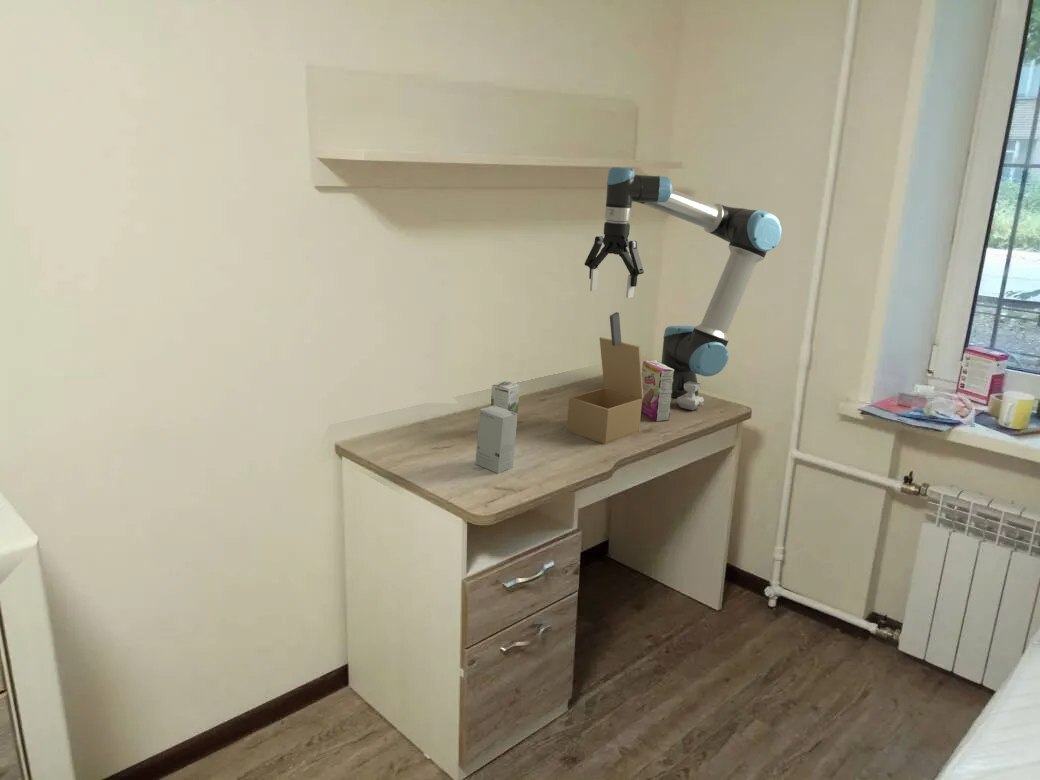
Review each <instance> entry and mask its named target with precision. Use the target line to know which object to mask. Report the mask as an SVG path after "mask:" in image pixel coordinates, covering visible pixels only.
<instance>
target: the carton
mask: <svg viewBox="0 0 1040 780" xmlns="http://www.w3.org/2000/svg"><path fill="white" fill-rule="evenodd" d="M641 407H642V399H640V398H638V397H634V396H631V395H627V394H624V393H620V392H617V391H614V390H610V389H607V388H604V387H601V388H599V389H595V390H591V391H587V392H584V393H581V394H577V395H574V396H570V397H568V409H567V410H568V411H567V422H566V424H567V425H566V432H569V431H570V433H572V432H573V433H572V434H575V433H576V434H575V435H578V436H581V437H583V436H584V437H583V438H586V437H587V438H586V439H589V438H590V440H592V439H593V441H595V440H596V441H595V442H598V441H599V443H601V444H604V443H605V444H604V445H606V443H607V444H609V442H610V443H612V441H613V442H615V441H617V440H621V439H623V437H624V438H626V437H629V436H632V435H634V434H637V433H640V427H641V418H642V417H641V416H642V412H641ZM620 438H621V439H620Z"/></svg>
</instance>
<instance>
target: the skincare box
mask: <svg viewBox="0 0 1040 780" xmlns="http://www.w3.org/2000/svg"><path fill="white" fill-rule="evenodd" d="M478 414H479V415H478V416H479V418H478V426H477V427H478V428H477V439H476V449H475V451H476V453H475V465H476V466H479V467H482V468H484V469H487V470H489V471H492V472H494V473H496V474H500V473H503V472H506V471H508V470H507V469H509V470H511V469H513V467H514V457H515V456H514V455H515V446H516V438H517V437H516V436H517V430H516V427H517V426H518V416H519V415H518V414H519V413H518V414H516V413H513V412H511V411H508V410H506V409H503V408H500V407H497V406H491V405H490V406H488V407H484V408H480V409H479V413H478ZM510 468H511V469H510ZM505 470H506V471H505ZM502 471H503V472H502ZM499 472H500V473H499Z"/></svg>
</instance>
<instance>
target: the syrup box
mask: <svg viewBox="0 0 1040 780" xmlns="http://www.w3.org/2000/svg"><path fill="white" fill-rule="evenodd" d="M490 397H491V398H490V400H491V401H490V407H491V406H497V407H500V408H503V409H506V410H508V411H511V412H513V413H516V414H519V413H518V412H519V402H520V401H519V399H520V384H517V383H515V382H511V381H507V380H502V381H500V382H498V383H494V384H493V385H491V396H490ZM517 430H518V429H517V427H516V431H517Z"/></svg>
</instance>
